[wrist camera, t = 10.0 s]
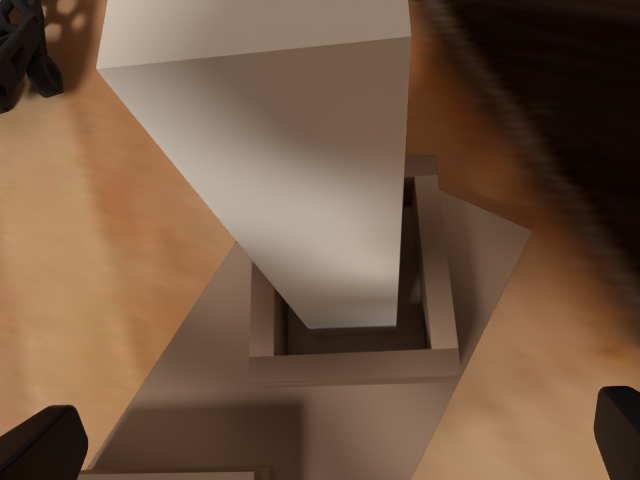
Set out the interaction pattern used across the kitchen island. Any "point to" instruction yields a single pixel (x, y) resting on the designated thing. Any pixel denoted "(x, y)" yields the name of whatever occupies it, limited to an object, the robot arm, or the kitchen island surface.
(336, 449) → the double compartment tray
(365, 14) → the beige rectangular block
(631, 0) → the kitchen island surface
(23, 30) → the decorative element
